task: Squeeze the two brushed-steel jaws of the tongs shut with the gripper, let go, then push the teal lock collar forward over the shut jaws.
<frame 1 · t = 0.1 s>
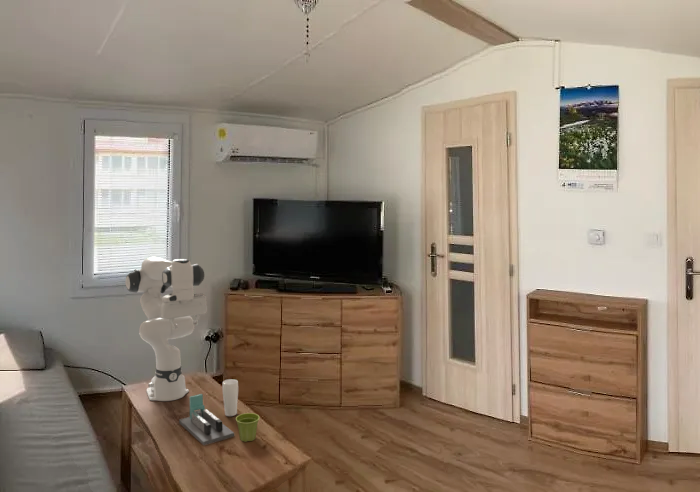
hand: (185, 326, 240), 39 cm above the table, tool pointing down, fingers open, 8 cm apart
white cup: (230, 414, 241), on the table
plant pot: (247, 439, 217), on the table
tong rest: (207, 430, 224), on the table
lock collar: (197, 407, 232), point 7 cm above the table, slide at 0.0 cm
jaw 2: (212, 420, 226), point 4 cm above the table, slide at 1.7 cm
jaw 1: (201, 423, 223), point 4 cm above the table, slide at 1.7 cm
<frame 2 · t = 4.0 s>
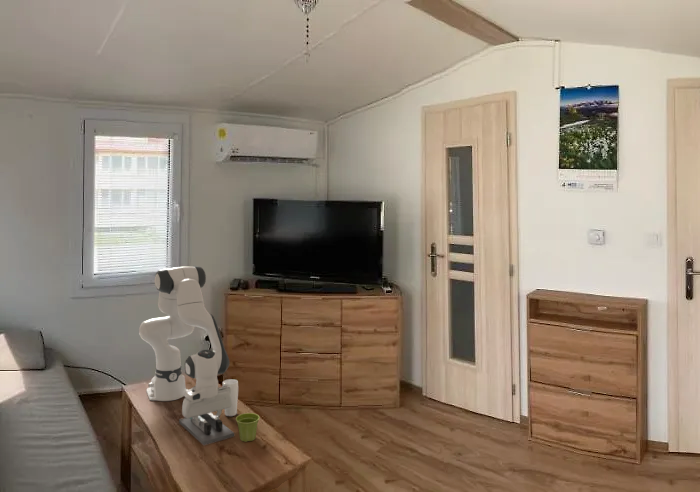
hand: (207, 422, 223), 4 cm above the table, tool pointing down, fingers open, 6 cm apart
jaw 2: (212, 420, 226), point 4 cm above the table, slide at 1.7 cm, touching gripper
jaw 1: (201, 423, 223), point 4 cm above the table, slide at 1.7 cm, touching gripper
everything else where it was.
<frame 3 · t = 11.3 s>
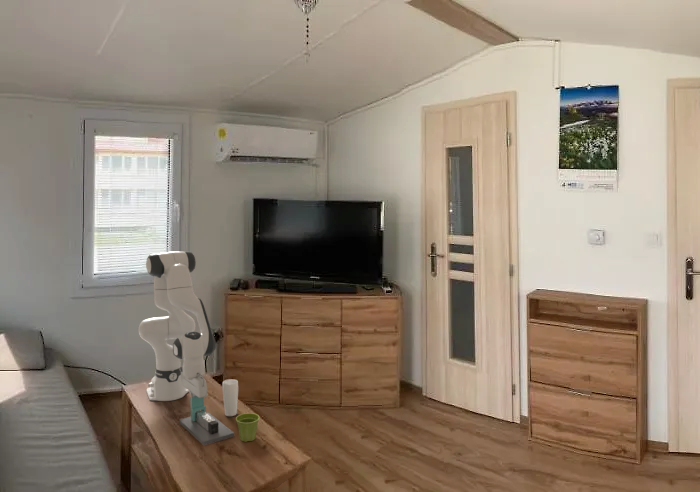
hand: (194, 401, 234), 8 cm above the table, tool pointing down, fingers closed
lock collar: (198, 407, 231), point 7 cm above the table, slide at 1.1 cm, touching gripper
jaw 2: (208, 421, 224), point 4 cm above the table, slide at 0.0 cm, touching jaw 1
jaw 1: (205, 422, 224), point 4 cm above the table, slide at 0.0 cm, touching jaw 2
everything else where it was.
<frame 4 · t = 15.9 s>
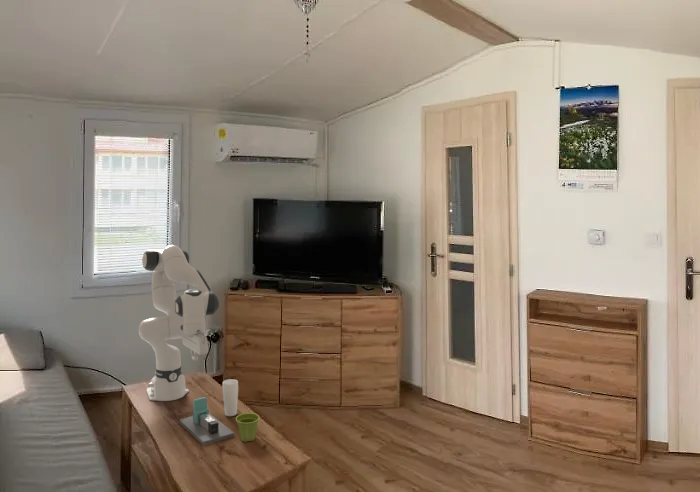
hand: (195, 360, 230), 27 cm above the table, tool pointing down, fingers closed
lock collar: (201, 410, 228), point 7 cm above the table, slide at 4.2 cm
everything else where it was.
at the end: jaw 2 slide at 0.0 cm; jaw 1 slide at 0.0 cm; lock collar slide at 4.2 cm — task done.
